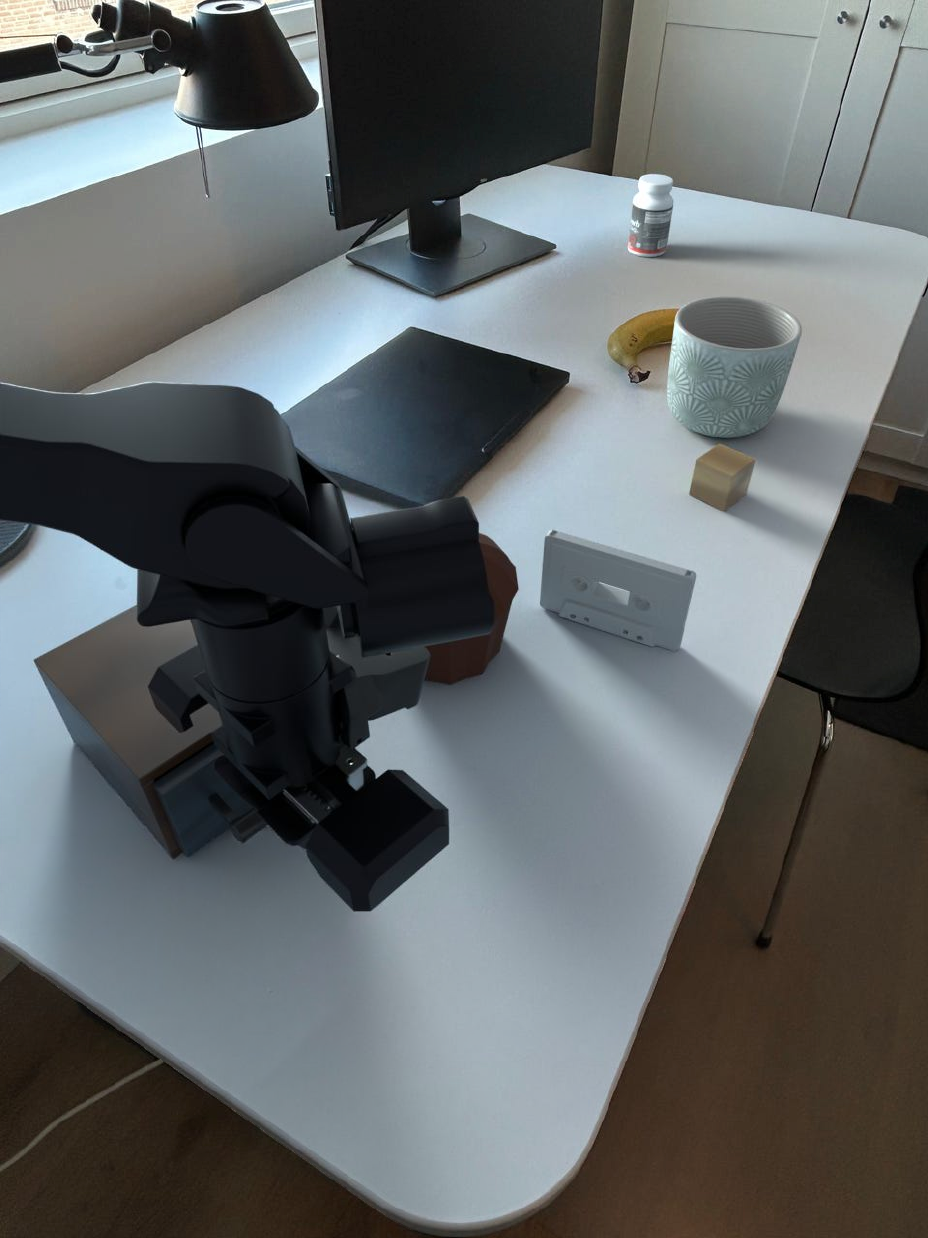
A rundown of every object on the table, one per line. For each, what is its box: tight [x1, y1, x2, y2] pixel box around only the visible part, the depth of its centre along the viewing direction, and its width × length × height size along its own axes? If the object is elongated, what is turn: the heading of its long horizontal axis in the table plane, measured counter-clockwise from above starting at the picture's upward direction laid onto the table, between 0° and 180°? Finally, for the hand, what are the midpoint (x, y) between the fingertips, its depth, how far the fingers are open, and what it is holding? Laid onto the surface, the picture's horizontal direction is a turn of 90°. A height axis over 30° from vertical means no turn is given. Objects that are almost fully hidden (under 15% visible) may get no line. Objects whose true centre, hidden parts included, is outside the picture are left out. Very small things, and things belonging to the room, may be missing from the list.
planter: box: [666, 295, 803, 439], centre depth 92 cm, size 12×12×11 cm
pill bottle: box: [627, 173, 674, 258], centre depth 126 cm, size 6×6×10 cm
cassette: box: [539, 529, 697, 652], centre depth 69 cm, size 12×2×8 cm, turn 63°
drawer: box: [153, 741, 268, 858], centre depth 58 cm, size 16×10×7 cm, turn 45°
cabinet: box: [33, 604, 222, 860], centre depth 60 cm, size 14×12×9 cm
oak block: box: [688, 443, 757, 512], centre depth 84 cm, size 4×4×4 cm
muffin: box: [424, 532, 520, 686], centre depth 67 cm, size 12×11×10 cm
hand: (310, 841), depth 52 cm, fingers closed
